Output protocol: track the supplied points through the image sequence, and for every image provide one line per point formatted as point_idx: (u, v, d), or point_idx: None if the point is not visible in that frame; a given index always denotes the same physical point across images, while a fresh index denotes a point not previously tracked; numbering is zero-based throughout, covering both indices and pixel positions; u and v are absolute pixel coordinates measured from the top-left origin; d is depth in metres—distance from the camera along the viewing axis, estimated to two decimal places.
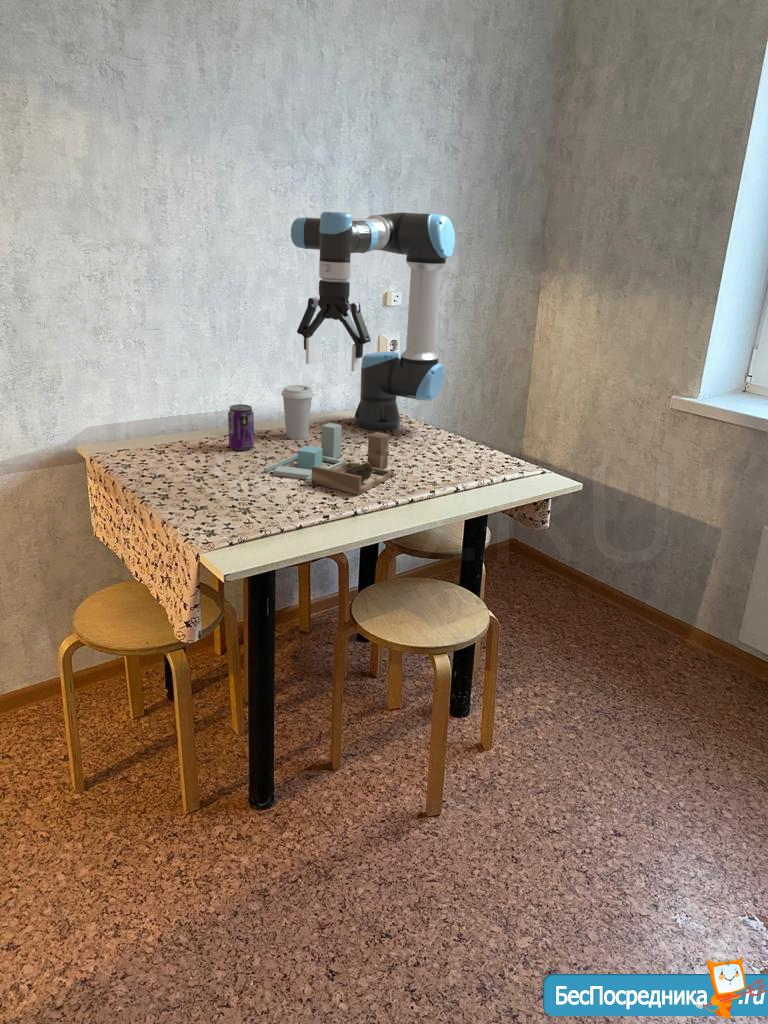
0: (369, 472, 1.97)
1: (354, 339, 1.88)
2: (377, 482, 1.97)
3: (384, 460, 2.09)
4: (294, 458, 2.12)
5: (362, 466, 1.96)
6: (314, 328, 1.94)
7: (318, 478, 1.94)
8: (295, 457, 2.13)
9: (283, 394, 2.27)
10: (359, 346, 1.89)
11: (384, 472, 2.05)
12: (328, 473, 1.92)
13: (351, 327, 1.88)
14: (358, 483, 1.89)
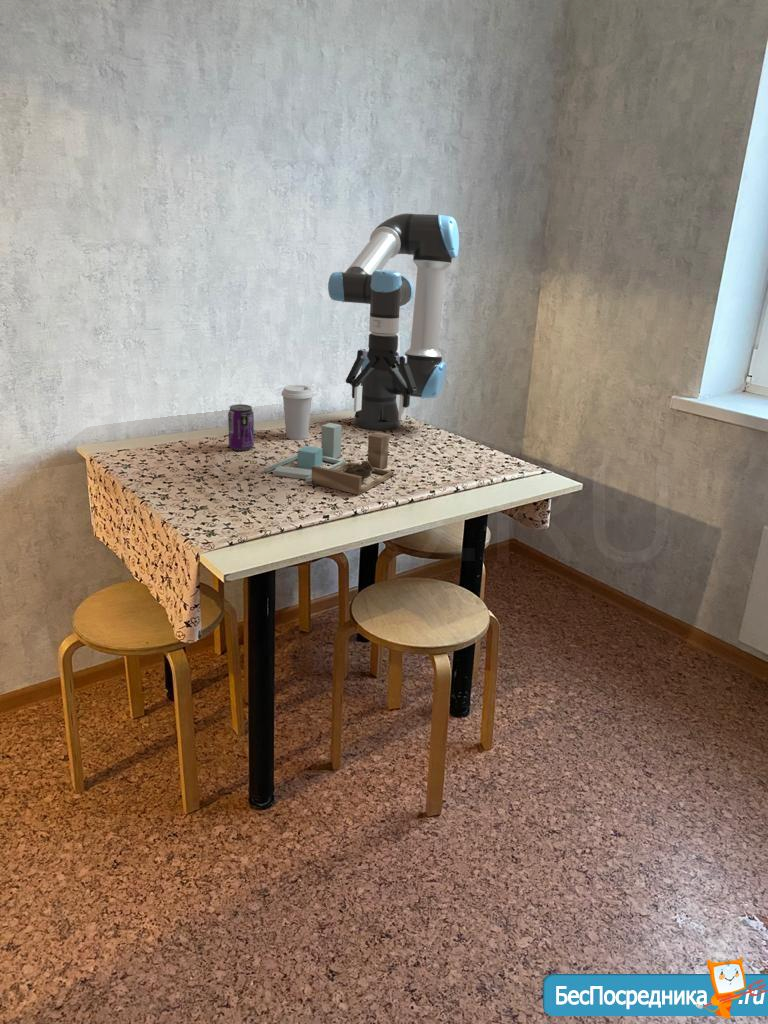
0: (368, 470, 1.98)
1: (402, 390, 1.98)
2: (377, 482, 1.97)
3: (384, 460, 2.09)
4: (294, 458, 2.12)
5: (362, 465, 1.97)
6: (362, 378, 2.04)
7: (318, 478, 1.94)
8: (295, 457, 2.13)
9: (283, 394, 2.27)
10: (406, 396, 1.98)
11: (384, 472, 2.05)
12: (328, 473, 1.92)
13: (399, 378, 1.98)
14: (358, 483, 1.89)
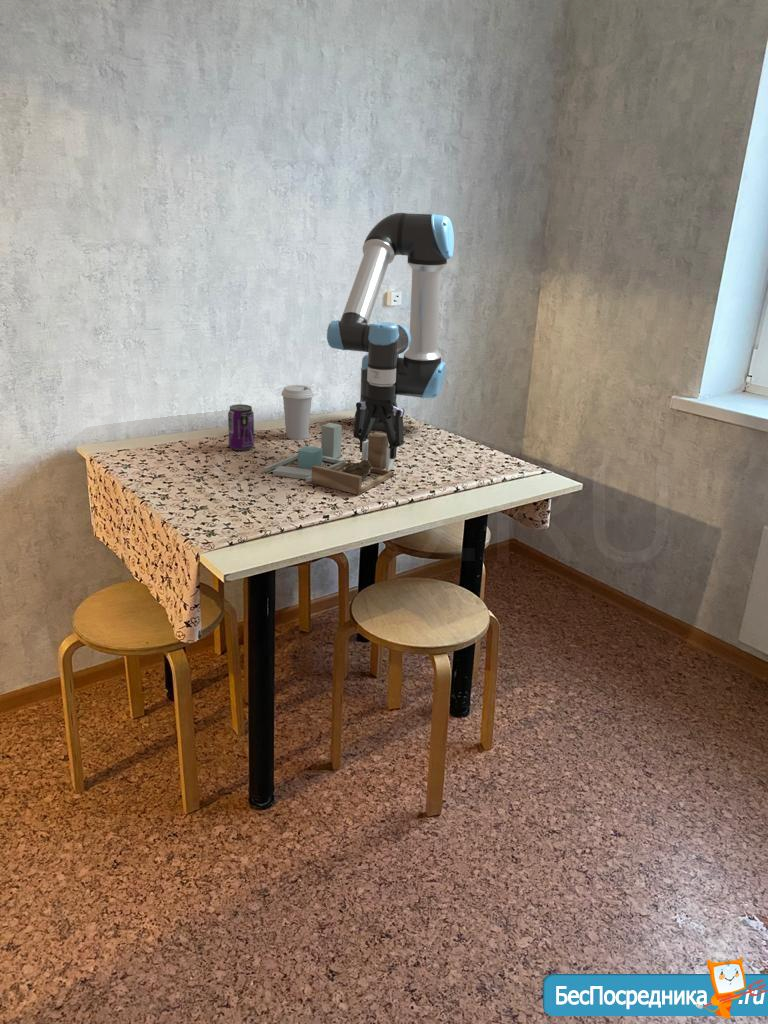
0: (367, 468, 1.99)
1: (390, 442, 2.05)
2: (377, 482, 1.97)
3: (384, 460, 2.09)
4: (294, 458, 2.12)
5: (361, 463, 1.98)
6: (368, 430, 2.08)
7: (318, 478, 1.94)
8: (295, 457, 2.13)
9: (283, 394, 2.27)
10: (393, 448, 2.05)
11: (384, 472, 2.05)
12: (328, 473, 1.92)
13: (390, 430, 2.04)
14: (358, 483, 1.89)
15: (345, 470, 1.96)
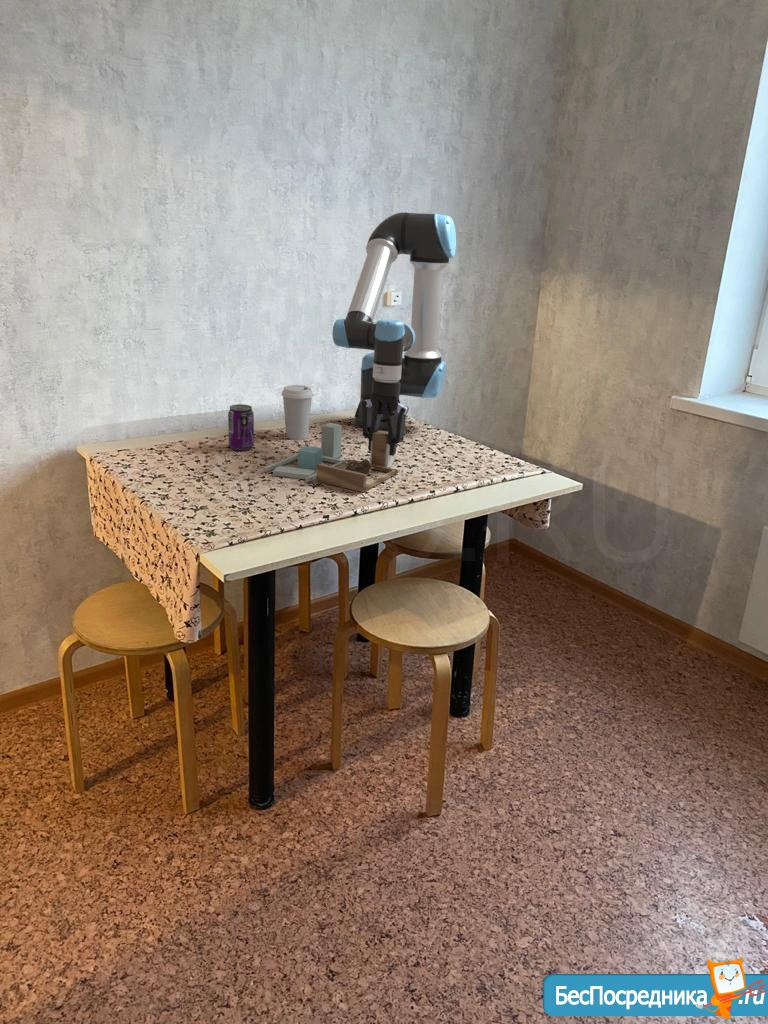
0: (368, 468, 1.99)
1: (390, 438, 2.07)
2: (381, 480, 1.99)
3: None
4: (294, 458, 2.12)
5: (361, 463, 1.98)
6: (376, 428, 2.10)
7: (323, 476, 1.96)
8: (295, 457, 2.13)
9: (283, 394, 2.27)
10: (393, 445, 2.08)
11: (388, 470, 2.06)
12: (333, 471, 1.94)
13: (392, 427, 2.06)
14: (362, 481, 1.91)
15: None
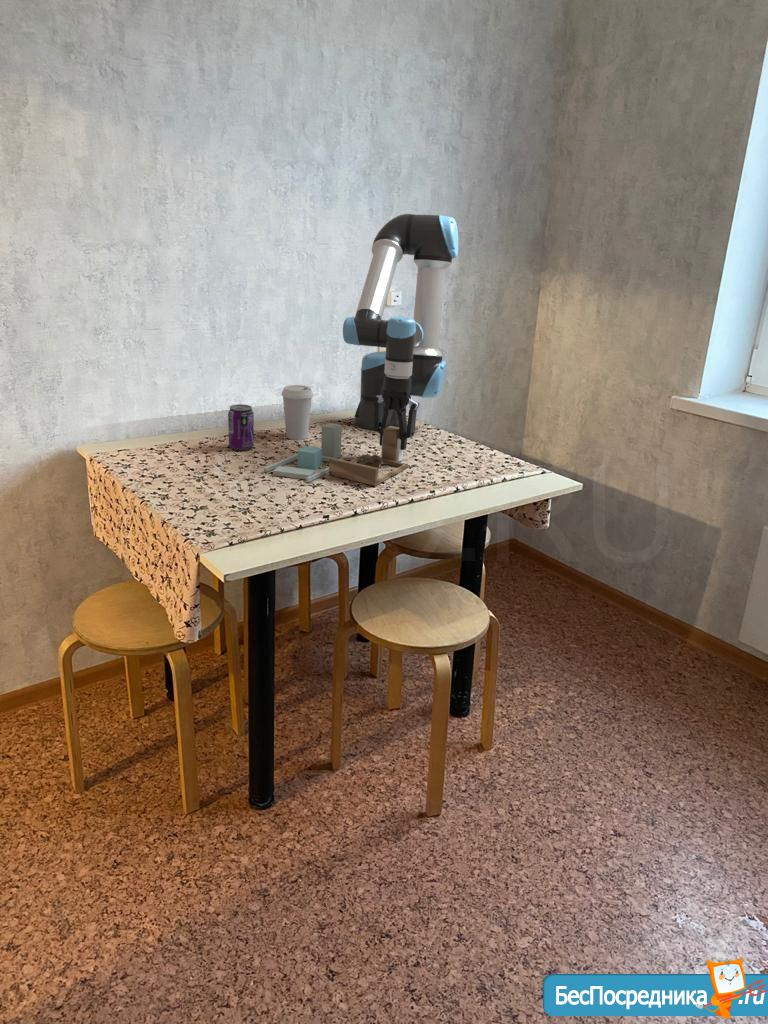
0: (378, 463, 2.03)
1: (401, 433, 2.12)
2: (392, 474, 2.04)
3: None
4: (294, 458, 2.12)
5: (371, 458, 2.02)
6: (387, 423, 2.15)
7: (335, 470, 2.01)
8: (295, 457, 2.13)
9: (283, 394, 2.27)
10: (404, 440, 2.13)
11: (398, 464, 2.11)
12: (345, 465, 1.99)
13: (403, 422, 2.12)
14: (374, 474, 1.96)
15: None
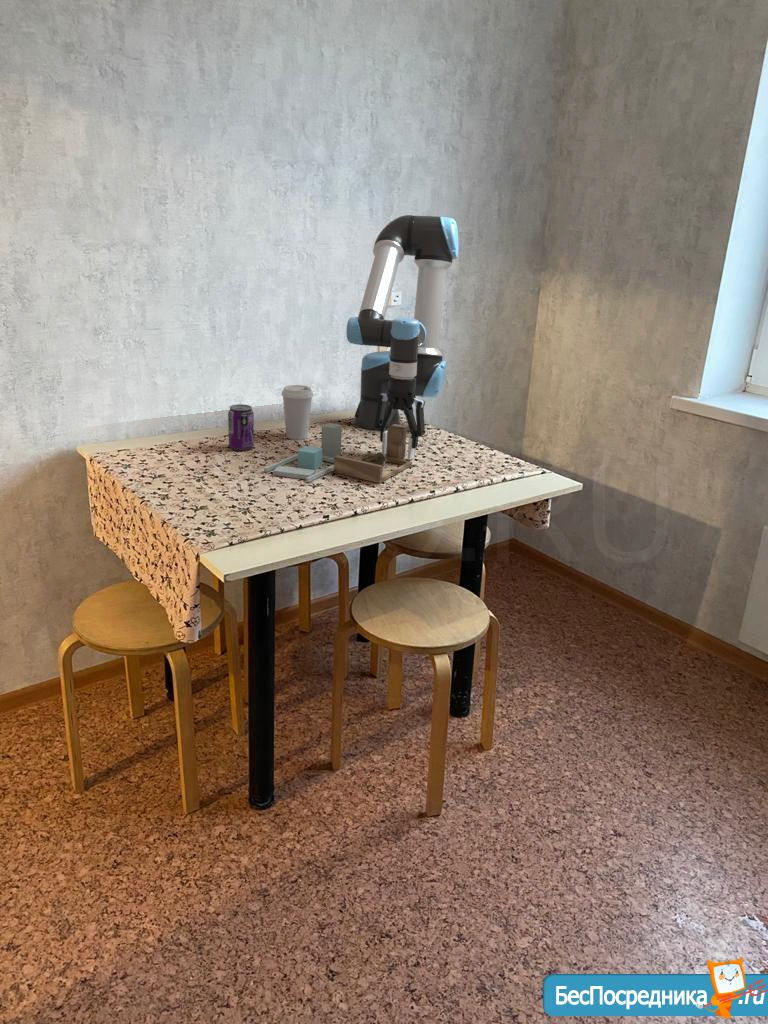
0: (382, 461, 2.06)
1: (411, 432, 2.14)
2: (396, 471, 2.06)
3: (402, 450, 2.17)
4: (294, 458, 2.12)
5: (376, 455, 2.04)
6: (388, 421, 2.18)
7: (340, 467, 2.03)
8: (295, 457, 2.13)
9: (283, 394, 2.27)
10: (415, 438, 2.15)
11: (402, 462, 2.13)
12: (350, 462, 2.01)
13: (412, 421, 2.14)
14: (379, 472, 1.98)
15: None
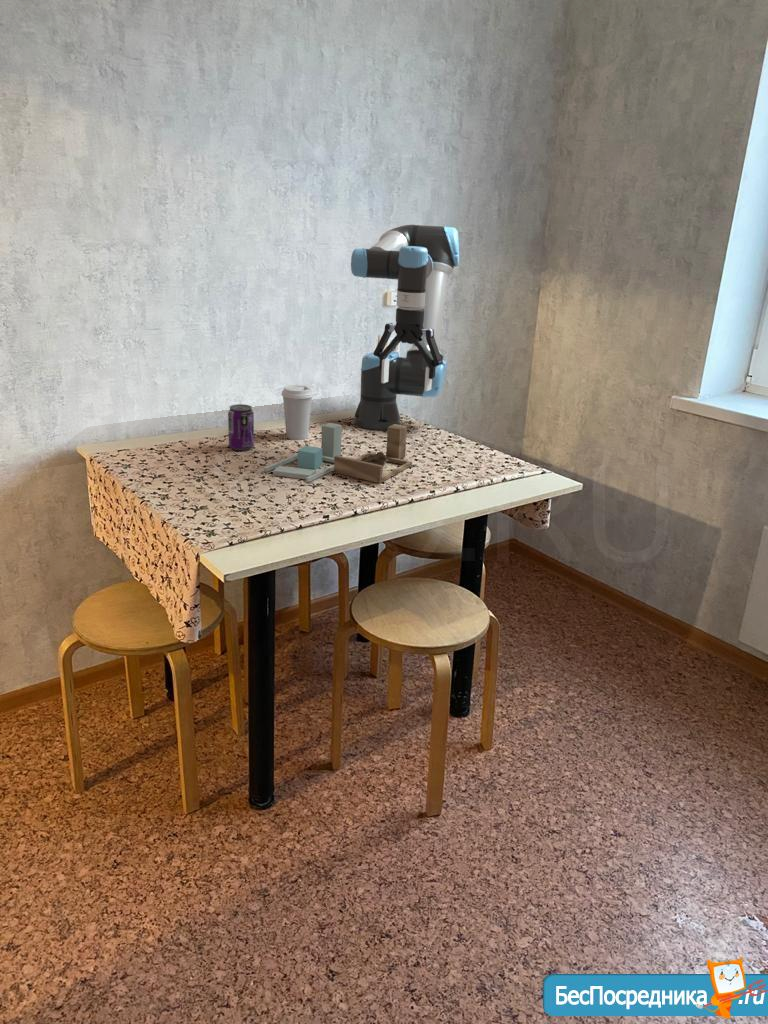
0: (382, 460, 2.06)
1: (428, 362, 2.06)
2: (396, 471, 2.06)
3: (402, 450, 2.17)
4: (294, 458, 2.12)
5: (376, 455, 2.05)
6: (390, 351, 2.12)
7: (340, 467, 2.03)
8: (295, 457, 2.13)
9: (283, 394, 2.27)
10: (432, 368, 2.07)
11: (403, 462, 2.13)
12: (350, 462, 2.01)
13: (425, 351, 2.06)
14: (379, 472, 1.98)
15: None
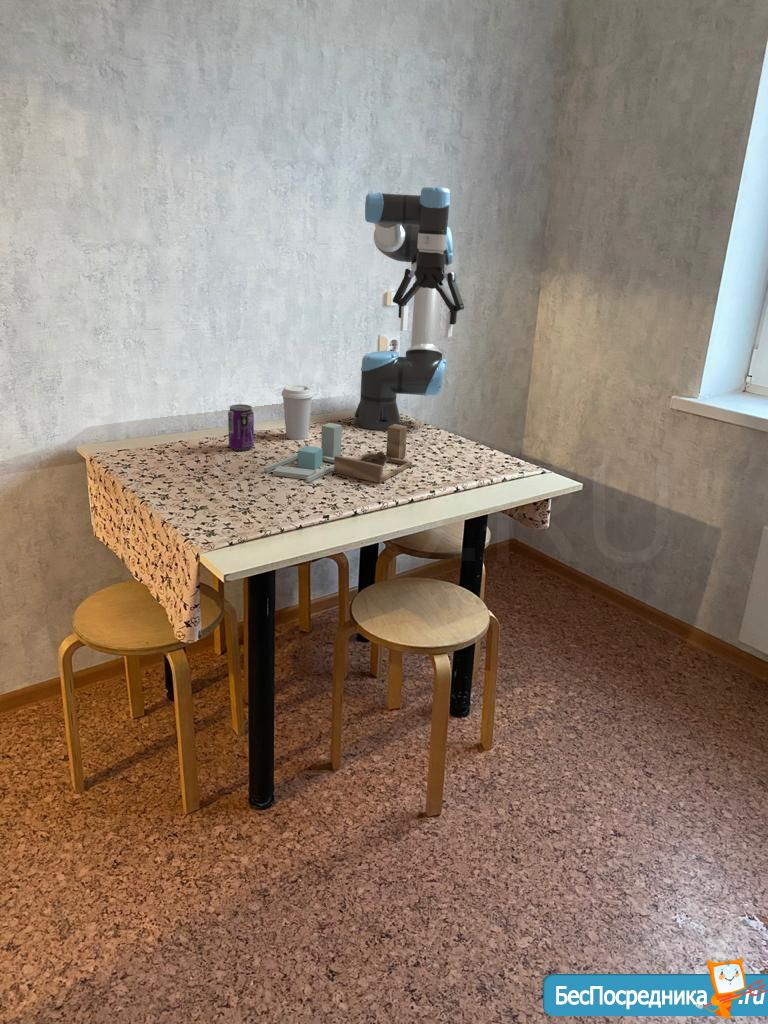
0: (383, 460, 2.06)
1: (449, 306, 2.02)
2: (397, 471, 2.06)
3: (402, 450, 2.17)
4: (294, 458, 2.12)
5: (377, 455, 2.05)
6: (409, 297, 2.08)
7: (340, 467, 2.03)
8: (295, 457, 2.13)
9: (283, 394, 2.27)
10: (454, 313, 2.03)
11: (403, 462, 2.13)
12: (350, 462, 2.01)
13: (446, 295, 2.02)
14: (379, 472, 1.98)
15: None
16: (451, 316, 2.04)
